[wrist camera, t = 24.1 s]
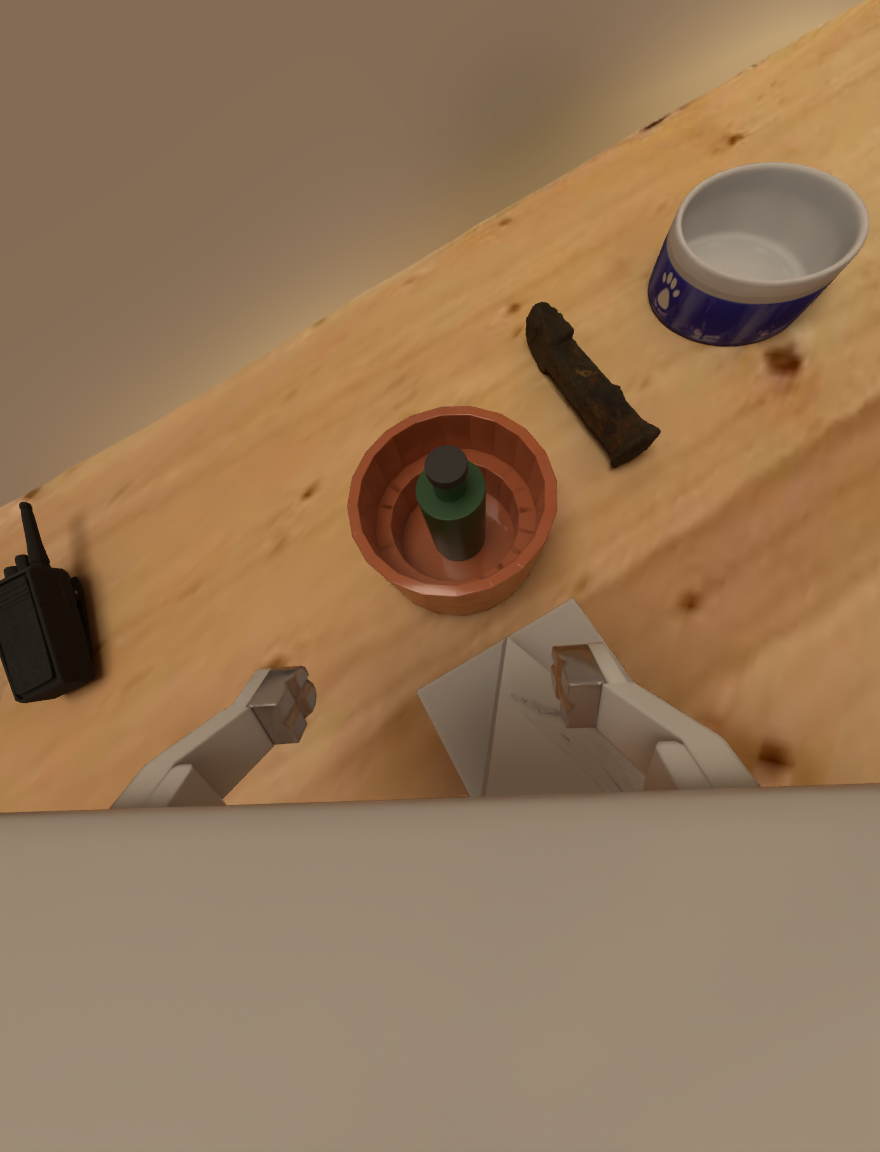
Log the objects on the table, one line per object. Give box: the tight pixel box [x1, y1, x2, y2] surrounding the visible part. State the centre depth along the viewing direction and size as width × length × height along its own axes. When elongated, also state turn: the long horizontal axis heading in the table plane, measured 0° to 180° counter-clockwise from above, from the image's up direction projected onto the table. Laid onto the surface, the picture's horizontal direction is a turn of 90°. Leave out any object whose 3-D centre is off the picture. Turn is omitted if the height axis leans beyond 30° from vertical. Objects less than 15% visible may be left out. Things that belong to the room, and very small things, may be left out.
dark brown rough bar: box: [526, 302, 661, 468], centre depth 32 cm, size 19×4×5 cm, turn 24°
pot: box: [347, 406, 557, 615], centre depth 28 cm, size 15×15×9 cm
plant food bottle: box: [416, 445, 486, 561], centre depth 25 cm, size 5×5×12 cm
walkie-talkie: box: [0, 502, 95, 703], centre depth 33 cm, size 6×6×20 cm
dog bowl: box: [648, 162, 869, 346], centre depth 33 cm, size 15×15×6 cm
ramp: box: [416, 598, 646, 797], centre depth 22 cm, size 28×16×5 cm, turn 30°
